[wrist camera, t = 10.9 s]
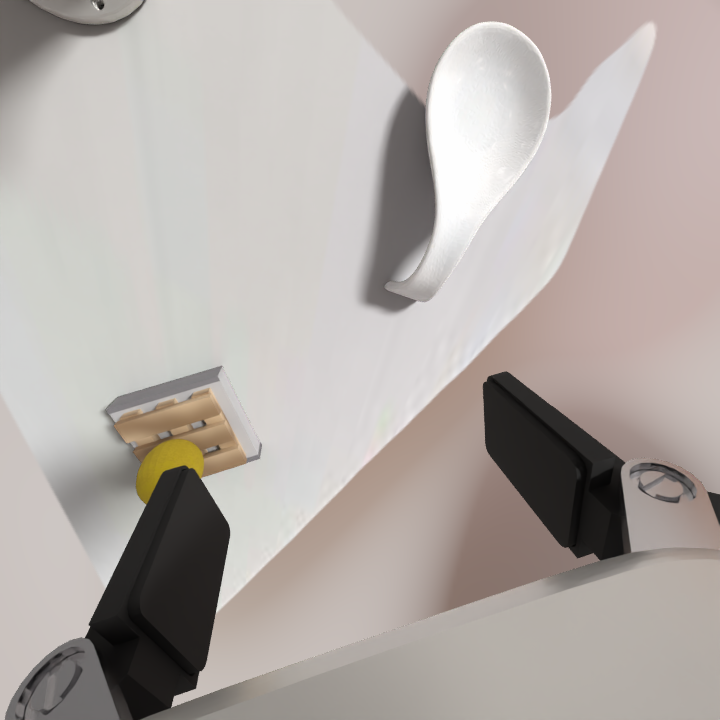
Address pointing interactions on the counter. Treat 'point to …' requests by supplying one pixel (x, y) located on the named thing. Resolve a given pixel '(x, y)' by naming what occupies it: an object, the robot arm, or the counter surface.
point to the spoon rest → (477, 139)
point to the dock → (184, 391)
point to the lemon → (166, 464)
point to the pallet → (185, 430)
